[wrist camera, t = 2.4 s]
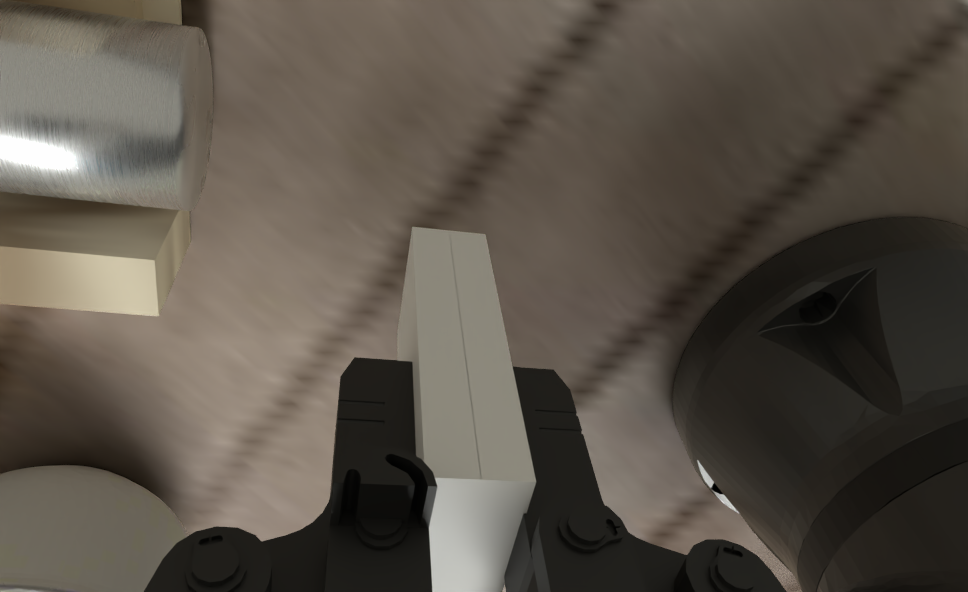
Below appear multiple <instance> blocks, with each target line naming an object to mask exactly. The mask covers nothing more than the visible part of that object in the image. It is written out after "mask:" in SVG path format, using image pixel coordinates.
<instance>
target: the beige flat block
mask: <svg viewBox="0 0 968 592" xmlns="http://www.w3.org/2000/svg"><path fill="white" fill-rule="evenodd" d="M13 1H19V2H26V3H33V4H40V5H47V6H54V7H61V8H68V9H74V10H81V11H88V12H95V13H102V14H109V15H116V16H123V17H130V18H136V19H143V20H150V21H157V22H164V23H171V24H178V25H182V12H181V0H13ZM190 242H191V229H190V211H182V210H173V209H163V208H153V207H144V206H134V205H124V204H115V203H105V202H95V201H86V200H76V199H67V198H57V197H47V196H38V195H28V194H18V193H9V192H0V304H8V305H20V306H33V307H46V308H58V309H71V310H83V311H96V312H109V313H121V314H134V315H147V316H159V315H160V312H161V310H162V308H163V305H164V303H165V301H166V298H167V296H168V294H169V291H170V289H171V287H172V284H173V282H174V280H175V277H176V275H177V273H178V270H179V268H180V266H181V263H182V261H183V259H184V256H185V254H186V252H187V249H188V247H189V245H190Z"/></svg>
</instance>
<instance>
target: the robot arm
mask: <svg viewBox="0 0 968 592" xmlns="http://www.w3.org/2000/svg"><path fill="white" fill-rule="evenodd" d="M673 412H674V418H675V423H676V426H677V429H678V432H679V434H680V437H681V439H682V441H683V443H684V446H685V448H686V450H687V453H688V455H689V457H690V459H691V462H692V464H693V466H694V468H695V470H696V472H697V473H698V475H699V476H700V478H701V479H702V481H703V482H704V484H705V485H706V486H707V487H708V488H709V490H710V491H711V492H712V493H713V494H714V495H715V496H716V497H717V498H718V499H719V500H720V501H721V502H723V503H724V504H725V505H726V506H728V507H729V508H731V509H732V510H734V511H735V512H737V513H739V514H740V515H741V516H742V517H743V518H744V519H745V521H746V522H747V524H748V525H749V527H750V528H751V529H752V530H753V532H754V533H755V534H756V535H757V536H758V538H759V539H760V540H761V541H762V542H763V543H764V544H765V545H766V547H767V548H768V549H769V550H770V551H771V552H772V553H773V554H774V555H775V556H776V557H777V558H778V559H779V560H780V561H781V562H782V563H783V564H784V565H785V566H786V567H787V568H788V569H789V570H790V571H791V572H792V574H793V575H794V576H795V578H796V580H797V582H798V584H799V586H800V588H801V590H802V591H803V592H968V229H967V228H964V227H961V226H959V225H956V224H953V223H949V222H945V221H940V220H934V219H928V218H912V217H900V218H886V219H878V220H871V221H866V222H861V223H856V224H852V225H848V226H844V227H841V228H838V229H835V230H832V231H828V232H826V233H823V234H821V235H818V236H815V237H813V238H811V239H808V240H806V241H804V242H802V243H799V244H797V245H796V246H794V247H792V248H790V249H788V250H786V251H784V252H782V253H781V254H779V255H777V256H775V257H774V258H772V259H771V260H769V261H767V262H766V263H764V264H763V265H761V266H760V267H758V268H757V269H756V270H754V271H753V272H752V273H750V274H749V275H748V276H746V277H745V278H744V279H743V280H742V281H740V282H739V283H738V284H737V285H736V286H734V287H733V288H732V289H731V290H730V291H729V292H728V293H727V294H726V295H725V296H724V297H723V298H722V299H721V300H720V301H719V302H718V303H717V304H716V305H715V306H714V308H713V309H712V310H711V311H710V312H709V314H708V315H707V316H706V317H705V319H704V320H703V321H702V323H701V324H700V325H699V327H698V328H697V330H696V332H695V333H694V335H693V336H692V338H691V340H690V342H689V343H688V345H687V347H686V349H685V352H684V354H683V356H682V358H681V361H680V364H679V367H678V370H677V373H676V377H675V382H674V388H673ZM581 431H582V429H581V426H580V422H579V419H578V416H576V408H575V405H574V402H573V398H572V395H571V391H570V389H569V388H568V387H567V386H566V384H565V383H564V382H563V381H562V380H561V378H560V377H559V376H558V375H557V374H556V372H555V371H554V370H549V369H535V368H521V367H513V366H512V361H511V357H510V352H509V347H508V342H507V337H506V332H505V327H504V322H503V318H502V313H501V308H500V303H499V298H498V293H497V288H496V283H495V279H494V274H493V269H492V264H491V259H490V254H489V249H488V245H487V240H486V235H485V234H478V233H468V232H459V231H449V230H439V229H430V228H420V227H412V232H411V239H410V246H409V253H408V260H407V267H406V274H405V281H404V289H403V296H402V303H401V310H400V317H399V324H398V331H397V361H396V360H382V359H368V358H354V359H353V360H352V362H351V363H350V365H349V366H348V367H347V369H346V370H345V371H344V373H343V374H342V376H341V379H340V389H339V400H338V411H337V421H336V432H335V443H334V456H333V468H332V481H331V493H330V500H329V503H328V504H327V506H326V508H325V509H324V511H323V513H322V514H321V515H320V516H319V517H318V518H317V519H316V520H315V521H314V522H313V523H311V524H309V525H308V526H306V527H305V528H303V529H301V530H299V531H297V532H294V533H291V534H288V535H286V536H282V537H278V538H274V539H270V540H266V541H262V542H261V541H260V540H259V539H258V538H257V537H256V536H255V535H253V534H251V533H249V532H246V531H244V530H242V529H239V528H232V527H213V528H209V529H205V530H201V531H197V532H194V533H193V534H191V535H189V536H188V537H186V538H184V539H182V540H181V541H179V542H177V543H176V544H175V545H174V547H173V548H172V549H171V550H170V551H169V552H168V553H167V555H166V556H165V557H164V558H163V559H162V561H161V563H160V565H159V566H158V568H157V570H156V571H155V573H154V575H153V577H152V578H151V580H150V582H149V583H148V585H147V587H146V588H145V590H144V592H502V590H503V587H504V584H505V587H506V592H786V590H785V589H784V588H783V586H782V585H781V584H780V582H779V581H778V579H777V578H776V577H775V575H774V574H773V573H772V571H771V570H770V569H769V568H768V567H767V566H766V565H765V564H764V562H763V561H762V560H761V559H760V558H759V557H758V556H757V555H755V554H754V553H752V552H750V551H749V550H747V549H746V548H744V547H743V546H741V545H738V544H735V543H732V542H729V541H726V540H704V541H702V542H700V543H698V544H696V545H694V546H693V547H692V549H691V550H690V552H689V554H688V555H684V554H681V553H678V552H675V551H672V550H669V549H665V548H662V547H659V546H656V545H653V544H650V543H648V542H645V541H643V540H641V539H638V538H636V537H635V536H633V535H632V534H630V533H628V531H627V529H626V527H625V526H624V524H623V522H622V520H621V519H620V518H619V517H618V516H617V515H616V514H615V513H614V512H613V511H612V510H611V509H610V508H609V507H607V506H605V505H604V503H603V501H602V498H601V495H600V491H599V488H598V484H597V481H596V477H595V474H594V471H593V467H592V464H591V460H590V457H589V453H588V450H587V446H586V443H585V440H584V436H583V434H581Z"/></svg>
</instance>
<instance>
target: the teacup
mask: <svg viewBox="0 0 968 592" xmlns="http://www.w3.org/2000/svg"><path fill="white" fill-rule="evenodd" d="M186 537H187V534H186V532H185V530H184V527H183V525H182V524H181V522H180V520H179V519H178V517H177V516H176V515H175V514H174V512H173V511H172V510H171V509H170V508H169V507H168V506H167V505H166V504H165V503H164V502H163V501H162V500H161V499H160V498H158V497H157V496H156V495H154V494H153V493H151V492H150V491H148V490H147V489H145V488H144V487H142V486H140V485H138V484H136V483H134V482H132V481H130V480H129V479H127V478H125V477H122V476H119V475H117V474H114V473H112V472H109V471H106V470H102V469H97V468H93V467H86V466H76V465H55V466H39V467H29V468H23V469H18V470H13V471H9V472H5V473H2V474H0V592H144V590H145V588H146V587H147V585H148V583H149V582H150V580H151V578H152V577H153V575H154V573H155V571H156V570H157V568H158V566H159V565H160V563H161V561H162V559H163V558H164V557H165V556H166V555H167V553H168V552H169V551H170V550H171V549H172V548H173V547H174V545H175V544H176V543H177V542H179V541H181V540H182V539H184V538H186Z"/></svg>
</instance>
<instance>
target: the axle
mask: <svg viewBox="0 0 968 592" xmlns="http://www.w3.org/2000/svg"><path fill="white" fill-rule="evenodd" d="M212 121H213V78H212V66H211V57H210V51H209V46H208V42H207V39H206V36H205V34H204V32H203V30H202V29H201V28H198V27H191V26H185V25H178V24H171V23H164V22H157V21H150V20H143V19H136V18H130V17H123V16H116V15H109V14H102V13H95V12H88V11H81V10H74V9H68V8H61V7H54V6H47V5H40V4H33V3H26V2H19V1H13V0H0V192H9V193H18V194H28V195H38V196H47V197H57V198H67V199H76V200H86V201H95V202H105V203H115V204H124V205H134V206H144V207H153V208H163V209H173V210H182V211H192V210H193V209H194V208H195V206H196V205H197V203H198V201H199V199H200V196H201V193H202V190H203V186H204V182H205V178H206V173H207V168H208V162H209V155H210V146H211V136H212Z"/></svg>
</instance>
